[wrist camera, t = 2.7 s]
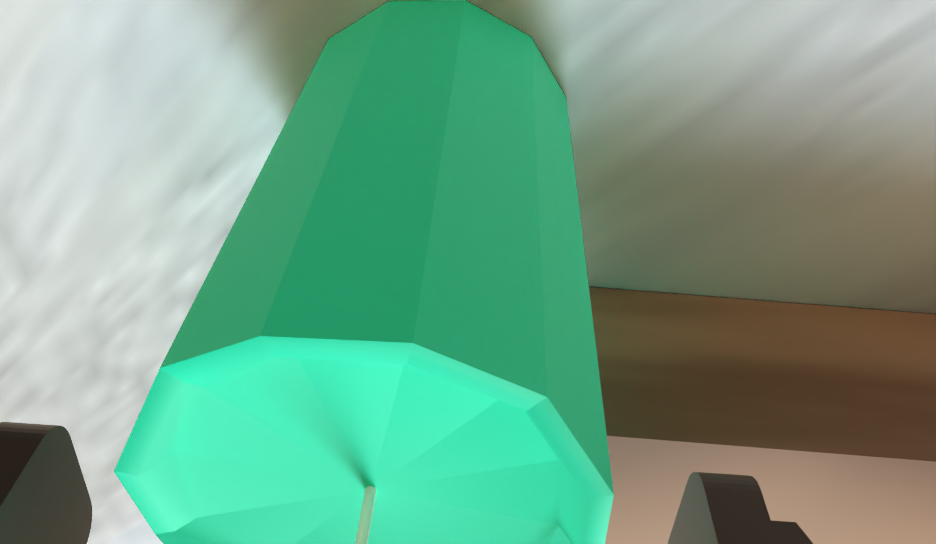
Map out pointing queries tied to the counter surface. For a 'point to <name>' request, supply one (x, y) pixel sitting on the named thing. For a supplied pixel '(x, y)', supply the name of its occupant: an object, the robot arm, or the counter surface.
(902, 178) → the counter surface
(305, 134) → the candle
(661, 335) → the walnut stand
